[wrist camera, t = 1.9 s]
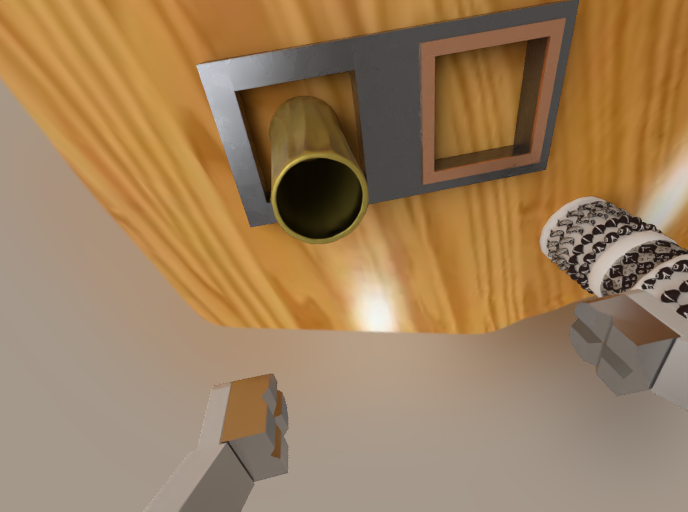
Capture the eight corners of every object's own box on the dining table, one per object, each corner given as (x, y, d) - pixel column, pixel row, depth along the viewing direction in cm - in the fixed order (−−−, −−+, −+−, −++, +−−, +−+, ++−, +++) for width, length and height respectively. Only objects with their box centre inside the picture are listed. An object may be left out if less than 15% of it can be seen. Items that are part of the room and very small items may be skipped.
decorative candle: (556, 190, 37) (908, 394, 16) (628, 194, 39) (1029, 383, 18) (523, 261, 42) (761, 488, 21) (588, 262, 43) (868, 473, 23)
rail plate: (203, 62, 26) (195, 65, 24) (556, 1, 27) (582, -2, 25) (252, 215, 33) (250, 228, 31) (530, 161, 35) (547, 170, 32)
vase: (292, 180, 32) (298, 268, 20) (255, 118, 29) (236, 179, 17) (351, 149, 31) (394, 221, 19) (320, 81, 28) (348, 119, 16)
